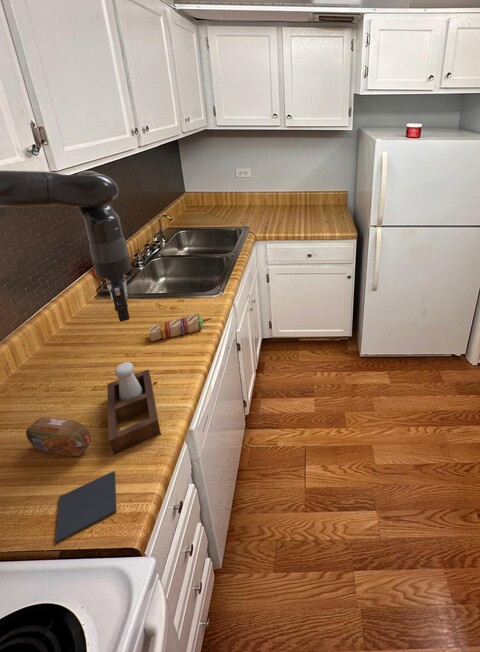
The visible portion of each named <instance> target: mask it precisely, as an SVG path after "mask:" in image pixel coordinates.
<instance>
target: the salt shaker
mask: <svg viewBox="0 0 480 652" xmlns="http://www.w3.org/2000/svg"><path fill="white" fill-rule="evenodd" d="M134 371H135V368H134V364H133V363H132V362H129V361H125V362H122V363H120V364H118V365H117V366H116V367H115V369H114V373H115V374H114V375H115V377H116V378H117V379H118V380H119V397H120V398H119V403H121V402H124V401H126V400H129V399H132V398H134V397H137V396H139V395H142V394H144V389H142V387H141V386H140V384H139V382H138V380H137V379H136V377H135V375H134V374H135V373H134Z"/></svg>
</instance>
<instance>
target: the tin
mask: <svg viewBox="0 0 480 652" xmlns="http://www.w3.org/2000/svg"><path fill="white" fill-rule="evenodd" d="M25 435H26V439H27V440H28V442H29V444H31V446H33V447H34V448H35V449H36V450H38V451H40V452H42V453H49V454H56V455H61V456H68V457H79V456H81V455H83V454H84V452H85V451H86V450H87V448H88V447H89V446H90V444H91V442H92V437H91V434H90V431H89V429H88V428H87V427H86V426H85V425H84V424H83V423H81V422H79V421H76V420H69V419H64V418H57V417H48V416H45V417H44V416H43V417H40V418H38V419H37V420H36V421H34V422H33V423H32V424H31V425H29V426H28V427H27V428H26V430H25Z"/></svg>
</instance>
